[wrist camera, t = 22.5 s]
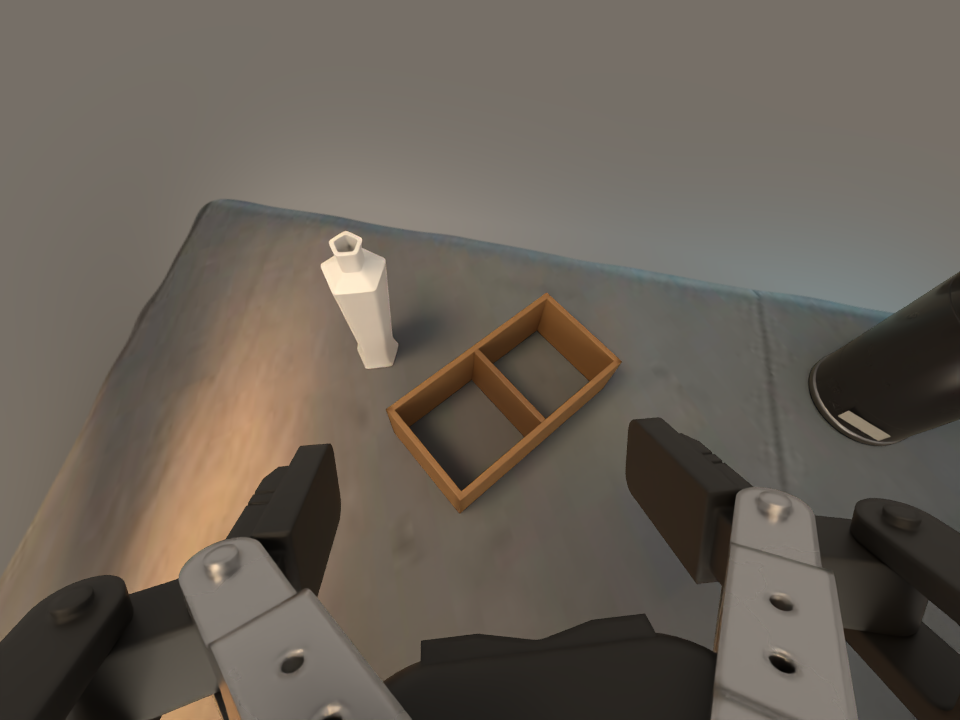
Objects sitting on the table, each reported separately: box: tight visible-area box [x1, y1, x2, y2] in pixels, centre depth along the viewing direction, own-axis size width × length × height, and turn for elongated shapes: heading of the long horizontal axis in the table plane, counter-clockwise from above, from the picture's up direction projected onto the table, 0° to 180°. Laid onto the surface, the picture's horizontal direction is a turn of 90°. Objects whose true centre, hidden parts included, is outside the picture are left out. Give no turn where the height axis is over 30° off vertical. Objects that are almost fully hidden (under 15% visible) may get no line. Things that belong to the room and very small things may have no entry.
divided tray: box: [386, 293, 622, 513], centre depth 39 cm, size 18×9×6 cm, turn 131°
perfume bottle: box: [321, 231, 399, 369], centre depth 37 cm, size 5×4×15 cm
